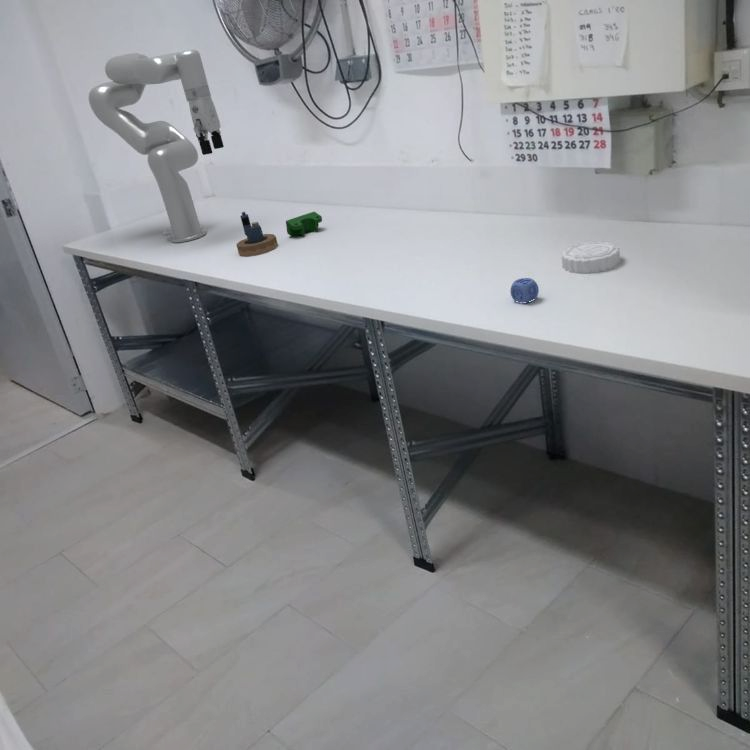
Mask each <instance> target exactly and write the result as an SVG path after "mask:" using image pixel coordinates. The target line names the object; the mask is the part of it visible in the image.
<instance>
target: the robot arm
mask: <svg viewBox="0 0 750 750" xmlns="http://www.w3.org/2000/svg"><path fill="white" fill-rule="evenodd" d="M104 72H105V75H106V76H107V78H108V79H109V80H110V81H108V82H104V83H100V84H98V85H96V86H93V88H91V90H90V91H89V93H88V102H89V106H90V108H91V111H92V112H93V113H94V115H95V116H96V118H97V119H98V120H99V121H100V122H101V123H102V124H103V125H104V126H106V127H107V128H109V129H110V130H112V131H113V132H114V133H116V134H117V135H118V136H119V137H120V138H121V139H122V140H123V141H125V142H126V143H127V144H128V145H129V146H130V147H131V148H132V149H134V150H135V151H136V152H137V153H138V154H140V155H143V156H146V155H147V163H148V166H149V168H150V171H151V172H152V174H153V176H154V178H155V179H154V180H156V183H157V186H158V189H159V192H160V194H161V197H162V201H163V204H164V207H165V211H166V213H167V214H166V215H167V216H168V221H169V223H170V226H171V227H169V228H164V229H163V230H162V232H163V235H164V236H169V235H170V241H171V243H174V244H175V243H177V244H178V243H184V242H190V241H193V240H196V239H199V238H202V237H204V236H205V235H206V234H207V233H208V232H207V230H206V229H205V228H201V224H200V221H199V218H198V215H197V211H196V207H195V204H194V200H193V197H192V195H191V191H190V190H191V189H190V187H189V184H188V182H187V181H186V180H185V178H184V177H183V176H182V175H181V174H180V173H179V172H182V171H183V170H187V169H189V168H192V167H195V165H196V164H197V162H198V160H199V153H198V150H197V148H196V146H195V145H194V144H193V143H192V142H191V140H190V139H188V138H187V137H186V136H185V135H184V134H183V133H181V131H180V130H178V129H177V127H175V126H174V125H172V124H171V123H169V122H167V121H165V120H156V121H152V122H150V123H145V122H143V121H141V120H140V119H139V118H137V116H136V115H134V114H132V113H131V112H129V111H127V110H124V109H121V108H125V107H128V106H133V105H135V104H136V103H138V102H139V101H140V99H141V98H142V95H143V93H144V91H145V88H146V86H147V85H159V84H160V85H161V84H164V83H169V82H172V81H179V80H180V81H181V84H182V88H183V92H184V96H185V99H186V102H188V105H189V112H190V116H191V119H192V123H193V131H194V133H195V137H196V138H197V142H198V143H199V147H200V151H201V153H202V155H203V156H205V155H206V156H207V155H210V154H213V149H212V146H211V142H212V145H213V148H214V149H215V150H216V149H217V150H218V149H222V148H224V143H223V139H222V135H221V131H220V129H221V122H220V119H219V116H218V113H217V109H216V106H215V103H214V101H213V98H212V94H211V91H210V87H209V83H208V79H207V76H206V72H205V67H204V65H203V61H202V57H201V54H200V52H199V51H198V50H197V49H190V50H188V49H187V50H184V51H181V52H173V53H172V52H171V53H167V54H161V55H156V56H151V57H148V56H146V55H145V54H143V53H138V52H133V53H127V54H122V55H116V56H113V57H111V58H109V59H108V60H107V62H106V63H105V66H104ZM209 133H210V138H211V139H208V138H209V137H208V136H209ZM210 140H211V142H210Z"/></svg>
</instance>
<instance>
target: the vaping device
mask: <svg viewBox="0 0 750 750" xmlns="http://www.w3.org/2000/svg"><path fill="white" fill-rule="evenodd" d="M240 220H241V224H242V228H243V231H244V236H246V238H247V239H248V243H249V244H255V243H259V242H262V241H264V237H263V234H264V233H263V230H262V229H263V228H262V227H261V225H260V223H259V221H255V222H252V223H251V221H250V217H249V214H247V213H246V211H242V212H241V215H240Z"/></svg>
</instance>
